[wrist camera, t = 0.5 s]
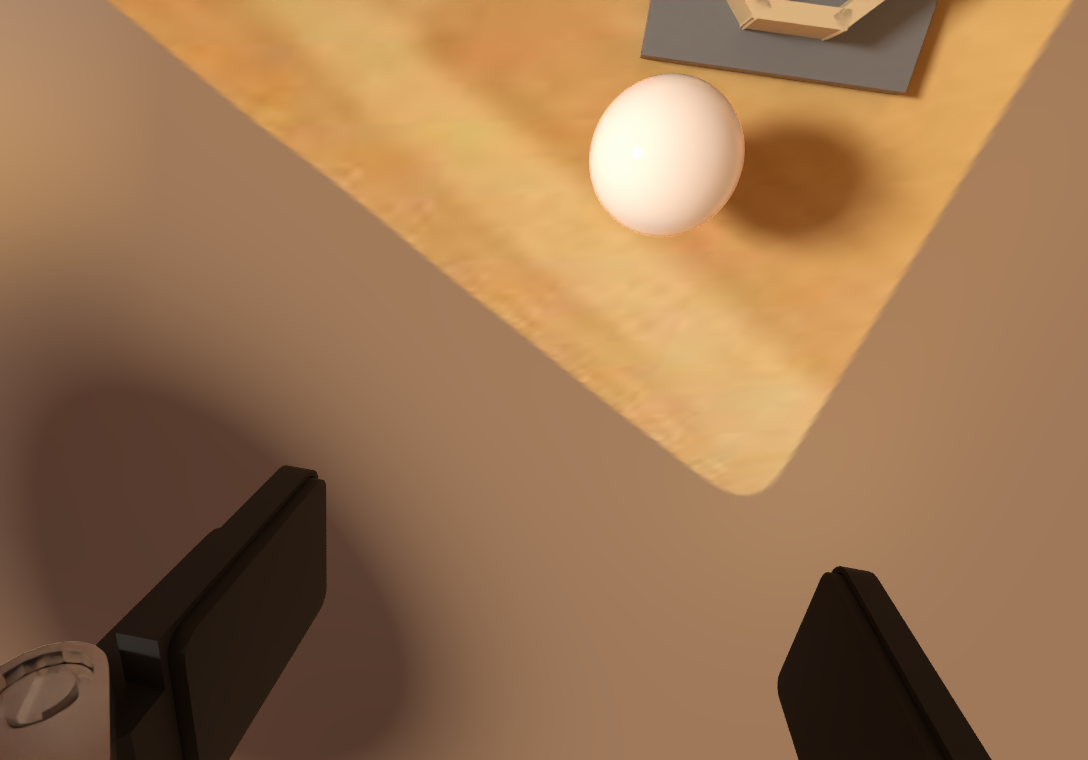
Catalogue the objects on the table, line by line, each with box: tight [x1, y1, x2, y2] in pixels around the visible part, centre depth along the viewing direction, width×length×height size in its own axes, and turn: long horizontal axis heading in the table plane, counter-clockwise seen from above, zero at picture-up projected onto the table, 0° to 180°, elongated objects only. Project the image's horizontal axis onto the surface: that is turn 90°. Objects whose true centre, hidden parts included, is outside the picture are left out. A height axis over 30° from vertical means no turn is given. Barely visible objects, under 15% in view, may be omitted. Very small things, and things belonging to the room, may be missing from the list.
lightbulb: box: [589, 73, 745, 237], centre depth 26 cm, size 6×6×11 cm
